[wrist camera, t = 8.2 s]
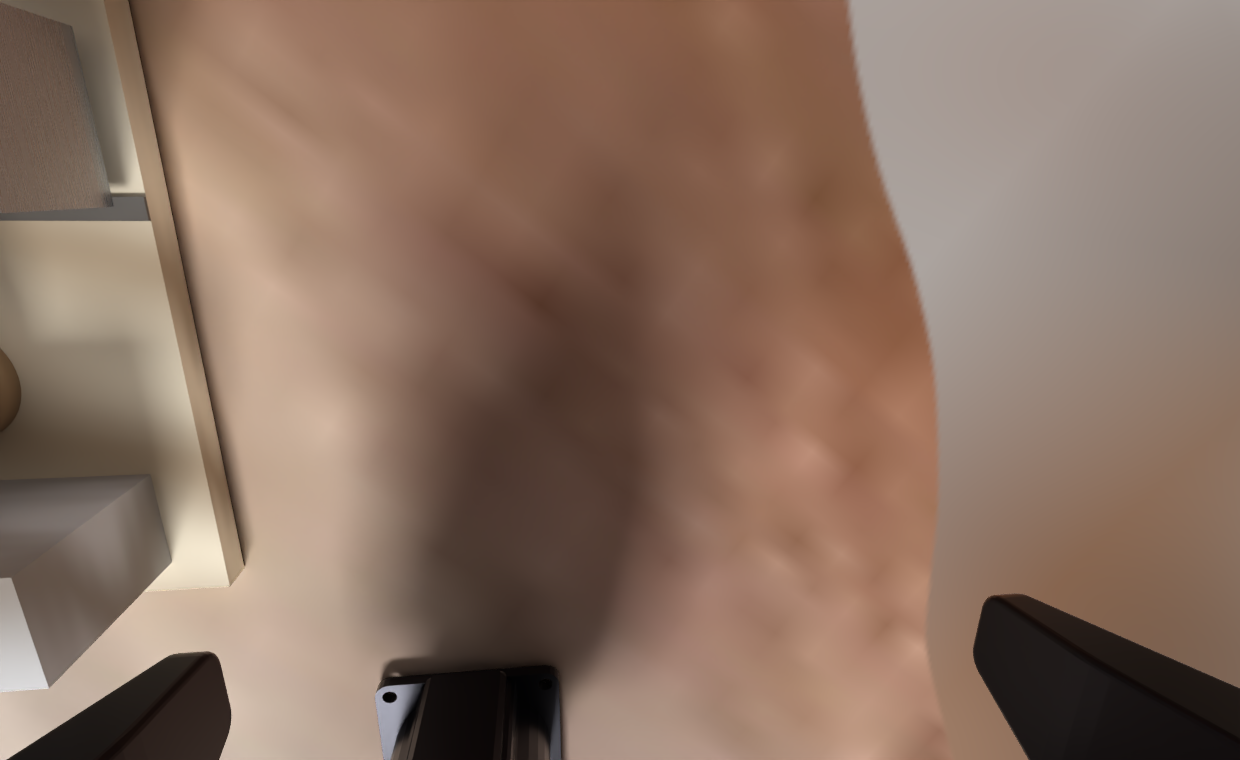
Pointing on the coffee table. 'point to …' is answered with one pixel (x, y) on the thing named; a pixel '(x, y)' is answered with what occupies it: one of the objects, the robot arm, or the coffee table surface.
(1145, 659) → the robot arm
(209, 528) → the press base
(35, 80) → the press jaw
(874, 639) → the coffee table surface
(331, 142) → the coffee table surface
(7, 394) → the tan rounded knob
